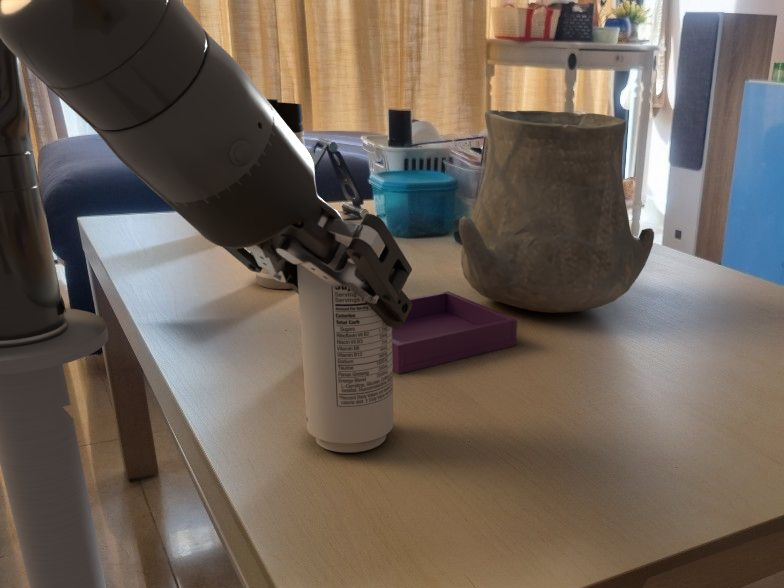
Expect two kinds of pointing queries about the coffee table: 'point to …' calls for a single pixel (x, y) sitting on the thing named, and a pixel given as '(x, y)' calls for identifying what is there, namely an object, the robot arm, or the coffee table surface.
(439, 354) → the tray
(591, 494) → the coffee table surface
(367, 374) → the energy drink can
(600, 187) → the vessel
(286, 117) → the travel mug
